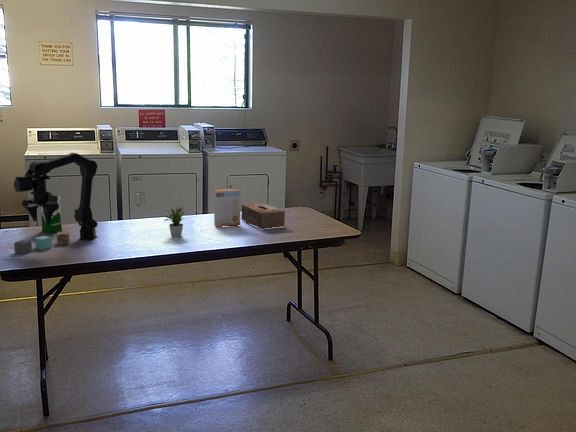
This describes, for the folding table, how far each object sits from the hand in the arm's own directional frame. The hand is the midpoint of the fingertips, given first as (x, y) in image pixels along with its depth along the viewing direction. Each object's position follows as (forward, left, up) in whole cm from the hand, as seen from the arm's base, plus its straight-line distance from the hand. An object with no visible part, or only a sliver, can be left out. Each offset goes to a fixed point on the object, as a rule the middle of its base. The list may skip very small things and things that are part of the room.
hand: (41, 222), depth 255 cm
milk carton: (+11, -29, -12) cm, 33 cm away
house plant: (-54, -33, -12) cm, 65 cm away
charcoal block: (+5, +9, -12) cm, 16 cm away
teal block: (0, 0, -12) cm, 12 cm away
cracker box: (-76, -59, -12) cm, 97 cm away
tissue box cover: (-95, -68, -12) cm, 118 cm away
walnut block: (-5, -9, -12) cm, 16 cm away
